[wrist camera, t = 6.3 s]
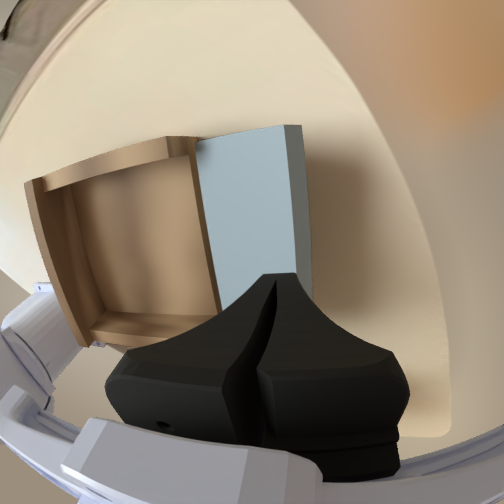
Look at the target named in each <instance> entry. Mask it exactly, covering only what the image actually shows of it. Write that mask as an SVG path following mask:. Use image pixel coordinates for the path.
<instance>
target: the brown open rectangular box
mask: <svg viewBox="0 0 504 504" xmlns="http://www.w3.org/2000/svg"><path fill="white" fill-rule="evenodd" d="M194 142H198V141H197V137H189V136H165V137H160V138H156V139H152V140H148V141H145V142H141V143H137V144H133V145H130V146H126V147H123V148H120V149H116V150H113V151H110V152H107V153H104V154H100V155H97V156H94V157H92V158H89V159H86V160H83V161H80V162H77V163H75V164H72V165H69V166H67V167H64V168H62V169H59V170H57V171H54V172H52V173H49V174H47V175H45V176H42V177H39V178H36V179H32V180H30V181H28V182H26V183H24V187H25V193H26V198H27V203H28V207H29V212H30V216H31V220H32V224H33V228H34V232H35V235H36V239H37V242H38V246H39V249H40V252H41V255H42V259H43V262H44V265H45V267H46V270H47V273H48V276H49V279H50V281H51V284H52V287H53V289H54V292H55V294H56V297H57V299H58V302H59V304H60V306H61V309H62V311H63V313H64V315H65V318H66V320H67V322H68V324H69V326H70V328H71V330H72V332H73V334H74V336H75V338H76V340H77V342H78V344H79V346H83V347H88V348H89V346H90V345H91V344H92V343H93V342H94V341H99V342H105V343H111V344H118V345H124V346H132V347H143V346H147V345H150V344H154V343H157V342H161V341H164V340H166V339H169V338H172V337H175V336H177V335H179V334H182V333H184V332H186V331H188V330H190V329H192V328H194V327H196V326H198V325H200V324H202V323H204V322H206V321H208V320H209V319H211V318H212V317H214V316H216V315H217V314H219V313H220V312H222V311H223V309H222V304H221V299H220V294H219V289H218V284H217V279H216V274H215V268H214V263H213V258H212V252H211V247H210V241H209V235H208V229H207V223H206V217H205V211H204V205H203V199H202V193H201V186H200V180H199V173H198V166H197V159H196V152H195V145H194Z"/></svg>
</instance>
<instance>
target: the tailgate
mask: <svg viewBox="0 0 504 504" xmlns="http://www.w3.org/2000/svg"><path fill="white" fill-rule="evenodd" d="M194 145H195V152H196V159H197V166H198V173H199V180H200V186H201V193H202V199H203V205H204V211H205V217H206V223H207V229H208V235H209V241H210V247H211V252H212V258H213V263H214V268H215V274H216V279H217V284H218V289H219V294H220V299H221V304H222V309H223V310H224V309H226V308H227V307H228V306H229V305H231V304H232V303H233V302H234V301H235V300H237V299H238V298H239V297H240V296H241V295H242V294H243V293H245V292H246V291H247V290H248V289H249V288H250V287H251V286H252V285H253V284H254V283H255V281H256V280H257V279H258V278H259V277H260V276H261V275H262V274H270V273H291V272H295V273H296V274H297V277H298V279H299V281H300V283H301V285H302V287H303V289H304V290H305V292H306V293H307V294H308V296H309V297H310V299H311V300H312V261H311V237H310V218H309V202H308V188H307V176H306V164H305V154H304V144H303V134H302V125H279V126H273V127H266V128H260V129H255V130H249V131H244V132H239V133H234V134H229V135H224V136H219V137H215V138H211V139H206V140H202V141H198V142H194Z"/></svg>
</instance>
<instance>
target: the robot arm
mask: <svg viewBox="0 0 504 504" xmlns="http://www.w3.org/2000/svg"><path fill="white" fill-rule="evenodd" d="M33 287H34V290H35V293H34V294H32V295H31V296H30V297H29V298H27V299H26V300H25V301H24V302H22V303H21V304H20V305H19V306H17V307H16V308H15V309H14V310H12V311H11V312H10V313H9V314H8V315H7V316H6V317H5V318H4V320H3V323H2V326H0V444H3V445H7V446H8V447H9V448H10V449H11V450H12V451H13V452H14V453H15V454H16V455H18V456H19V457H20V458H21V459H22V460H23V461H24V462H26V463H27V464H28V465H29V466H31V467H32V468H33V469H35V470H36V471H37V472H39V473H40V474H41V475H42V476H44V477H45V478H47V479H48V480H50V481H51V482H52V483H54V484H55V485H57V486H58V487H60V488H61V489H63V490H64V491H66V492H67V493H69V494H71V495H72V496H74V497H75V498H77V499H79V501H78V503H77V504H496V503H497V502H499V501H501V500H502V499H504V424H503V425H501V426H499V427H497V428H495V429H493V430H491V431H488V432H486V433H484V434H481V435H479V436H477V437H474V438H472V439H469V440H467V441H464V442H461V443H459V444H456V445H453V446H450V447H447V448H444V449H441V450H438V451H435V452H432V453H428V454H425V455H421V456H417V457H413V458H409V459H405V460H400V459H399V454H398V448H397V442H398V440H399V432H398V427H397V425H398V423H399V421H400V419H401V417H402V415H403V413H404V410H405V408H406V406H407V404H408V401H409V397H410V391H409V386H408V383H407V380H406V377H405V374H404V372H403V370H402V368H401V366H400V365H399V363H398V361H397V359H396V358H395V356H394V354H393V352H392V351H389V350H386V349H384V348H381V347H378V346H376V345H373V344H370V343H368V342H366V341H364V340H362V339H360V338H358V337H356V336H354V335H352V334H351V333H349V332H347V331H346V330H344V329H343V328H341V327H340V326H338V325H337V324H335V323H334V322H333V321H331V320H330V319H329V318H328V317H327V316H326V315H325V314H324V313H323V312H322V311H321V310H320V309H319V308H318V307H317V306H316V305H315V303H314V302H313V301H312V300H311V299H310V297H309V296H308V294H307V293H306V292H305V290H304V289H303V287H302V285H301V283H300V281H299V279H298V277H297V274H296V273H295V272H291V273H270V274H262V275H261V276H260V277H259V278H258V279H257V280H256V281H255V283H254V284H253V285H252V286H251V287H250V288H249V289H248V290H247V291H246V292H245V293H243V294H242V295H241V296H240V297H239V298H238V299H237V300H235V301H234V302H233V303H232V304H231V305H229V306H228V307H227V308H226V309H224V310H223V311H222V312H220V313H219V314H217V315H216V316H214V317H212V318H211V319H209V320H208V321H206V322H204V323H202V324H200V325H198V326H196V327H194V328H192V329H190V330H188V331H186V332H184V333H182V334H179V335H177V336H175V337H172V338H169V339H166V340H164V341H161V342H157V343H154V344H150V345H147V346H143V347H139V348H135V349H130V350H127V352H126V353H125V354H124V356H123V357H122V359H121V360H120V361H119V363H118V364H117V366H116V367H115V369H114V370H113V371H112V373H111V374H110V376H109V377H108V379H107V380H106V383H105V391H106V395H107V397H108V399H109V401H110V403H111V405H112V406H113V408H114V409H115V410H116V412H117V413H118V415H119V416H120V417H121V419H122V420H123V421H124V423H121V422H118V421H115V420H109V419H104V418H97V417H94V418H89V420H88V421H87V423H86V424H85V426H84V427H83V429H82V428H79V427H77V426H75V425H73V424H71V423H69V422H66V421H64V420H62V419H60V418H58V417H56V416H54V415H53V411H54V397H53V396H52V393H53V392H54V390H55V389H56V388H55V387H54V385H53V382H54V381H55V380H56V379H57V378H58V376H59V375H60V374H61V373H62V372H63V370H64V369H65V368H66V367H67V365H68V364H69V363H70V362H71V361H72V360H73V359H74V357H75V356H76V355H77V354H78V353H79V351H80V350H81V349H82V348H83V346H79V344H78V342H77V340H76V338H75V336H74V334H73V332H72V330H71V328H70V326H69V324H68V322H67V320H66V318H65V315H64V313H63V311H62V309H61V306H60V304H59V302H58V299H57V297H56V294H55V292H54V289H53V287H52V284H51V283H35V284H34V285H33ZM91 345H93V346H98V347H105V346H106V343H105V342H99V341H94V342H93V343H92V344H91Z"/></svg>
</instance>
